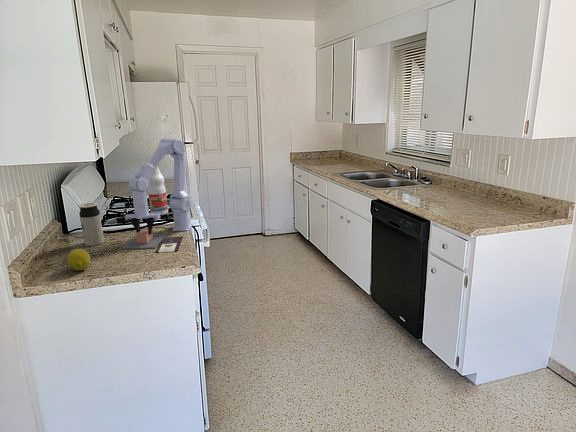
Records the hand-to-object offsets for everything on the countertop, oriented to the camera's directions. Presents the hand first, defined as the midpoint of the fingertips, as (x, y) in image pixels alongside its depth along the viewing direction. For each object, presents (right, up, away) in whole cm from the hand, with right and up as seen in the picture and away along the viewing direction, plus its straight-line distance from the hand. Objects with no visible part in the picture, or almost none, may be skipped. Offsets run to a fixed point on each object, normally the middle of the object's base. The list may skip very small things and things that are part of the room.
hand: (144, 234), depth 177 cm
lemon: (-15, -12, -27) cm, 33 cm away
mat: (0, -3, +1) cm, 4 cm away
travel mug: (-23, -4, +1) cm, 23 cm away
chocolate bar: (+12, -5, -3) cm, 14 cm away
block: (0, -3, 0) cm, 3 cm away
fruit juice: (-8, +9, +46) cm, 48 cm away
